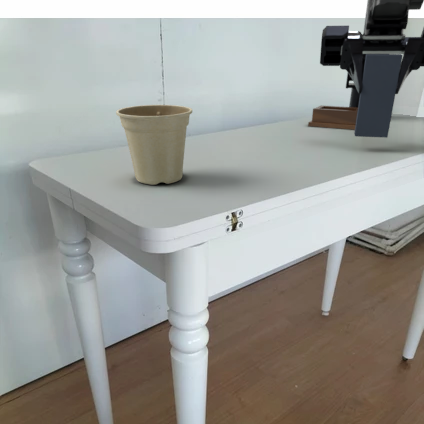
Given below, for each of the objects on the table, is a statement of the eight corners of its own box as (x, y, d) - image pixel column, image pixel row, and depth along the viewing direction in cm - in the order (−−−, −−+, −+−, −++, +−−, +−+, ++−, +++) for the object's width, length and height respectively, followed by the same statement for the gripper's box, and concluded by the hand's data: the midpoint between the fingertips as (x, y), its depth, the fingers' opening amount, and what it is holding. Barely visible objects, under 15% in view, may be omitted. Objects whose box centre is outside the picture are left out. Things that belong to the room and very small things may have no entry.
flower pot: (186, 190, 56) (183, 116, 51) (113, 187, 57) (104, 114, 52) (200, 171, 64) (198, 105, 59) (135, 169, 65) (129, 104, 60)
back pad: (354, 133, 74) (365, 54, 68) (386, 134, 73) (400, 54, 67) (354, 136, 72) (366, 54, 66) (387, 137, 71) (402, 54, 65)
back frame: (317, 121, 99) (319, 104, 97) (364, 124, 95) (366, 107, 93) (308, 126, 94) (309, 109, 92) (356, 129, 89) (359, 112, 88)
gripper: (329, -39, 66) (318, 50, 62) (468, -45, 62) (464, 50, 58) (325, 25, 77) (314, 104, 73) (443, 23, 73) (438, 106, 69)
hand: (378, 91), depth 68 cm, fingers closed on back pad, 5 cm apart
